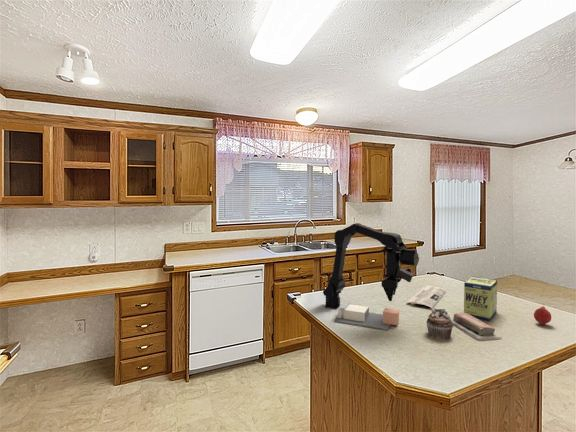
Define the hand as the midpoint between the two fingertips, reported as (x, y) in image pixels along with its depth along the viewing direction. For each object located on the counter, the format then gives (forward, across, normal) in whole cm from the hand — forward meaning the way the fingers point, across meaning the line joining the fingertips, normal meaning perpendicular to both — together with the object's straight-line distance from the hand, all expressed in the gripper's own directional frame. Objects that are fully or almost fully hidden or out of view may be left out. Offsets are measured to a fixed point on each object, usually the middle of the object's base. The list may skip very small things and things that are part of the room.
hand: (391, 297), depth 139 cm
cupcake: (+11, -6, -19) cm, 23 cm away
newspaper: (+11, +41, -12) cm, 44 cm away
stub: (+10, -2, 0) cm, 10 cm away
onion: (+10, +22, -58) cm, 63 cm away
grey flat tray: (+11, -3, +11) cm, 16 cm away
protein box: (+10, +26, -36) cm, 45 cm away
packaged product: (+11, +4, -32) cm, 34 cm away
